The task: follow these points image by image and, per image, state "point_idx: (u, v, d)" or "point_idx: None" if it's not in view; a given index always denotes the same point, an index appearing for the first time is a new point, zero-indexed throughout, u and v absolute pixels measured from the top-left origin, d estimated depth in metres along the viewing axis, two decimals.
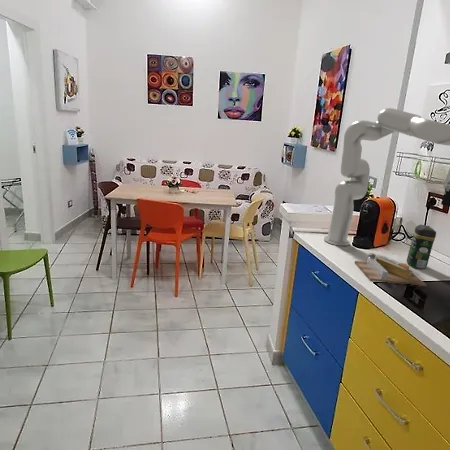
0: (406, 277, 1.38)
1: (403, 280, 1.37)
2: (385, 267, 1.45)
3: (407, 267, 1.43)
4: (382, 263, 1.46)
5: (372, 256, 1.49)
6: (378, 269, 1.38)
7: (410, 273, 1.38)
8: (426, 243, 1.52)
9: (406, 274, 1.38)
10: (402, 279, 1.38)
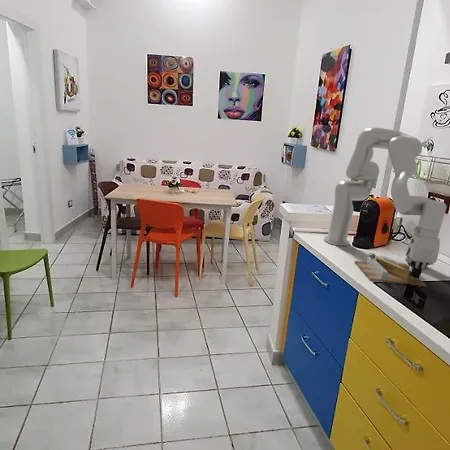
0: (405, 277, 1.38)
1: (403, 280, 1.37)
2: (385, 267, 1.45)
3: (407, 267, 1.43)
4: (382, 263, 1.46)
5: (372, 256, 1.49)
6: (378, 269, 1.38)
7: (409, 273, 1.37)
8: None
9: (405, 274, 1.38)
10: (402, 279, 1.38)
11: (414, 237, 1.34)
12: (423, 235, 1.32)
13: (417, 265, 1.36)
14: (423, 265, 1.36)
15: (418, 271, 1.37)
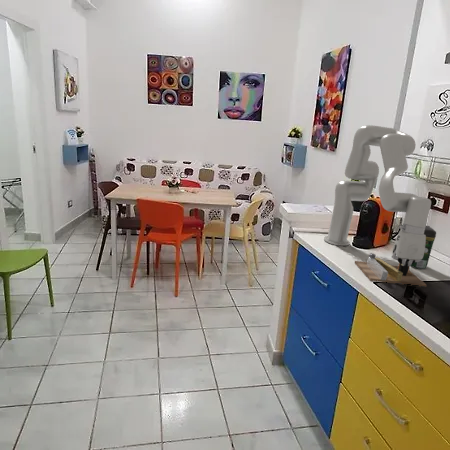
0: (395, 278, 1.36)
1: (403, 280, 1.37)
2: None
3: None
4: (379, 263, 1.46)
5: (372, 256, 1.49)
6: (378, 269, 1.38)
7: (399, 274, 1.35)
8: (426, 243, 1.52)
9: (395, 275, 1.36)
10: (402, 279, 1.38)
11: (400, 234, 1.33)
12: (409, 232, 1.31)
13: (404, 262, 1.35)
14: (410, 262, 1.35)
15: (405, 268, 1.35)
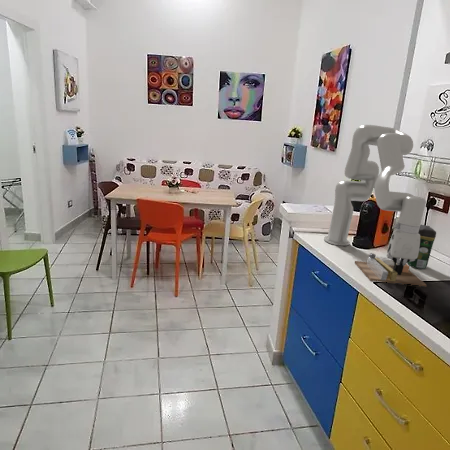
0: (390, 278, 1.35)
1: (403, 280, 1.37)
2: None
3: (407, 267, 1.43)
4: None
5: (372, 256, 1.49)
6: (378, 269, 1.38)
7: (394, 274, 1.34)
8: (426, 243, 1.52)
9: (390, 275, 1.35)
10: (402, 279, 1.38)
11: (394, 233, 1.33)
12: (403, 231, 1.31)
13: (398, 261, 1.35)
14: (404, 261, 1.35)
15: (399, 268, 1.35)
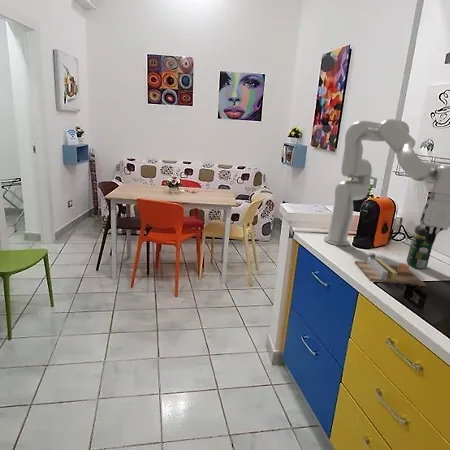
0: (389, 278, 1.35)
1: (403, 280, 1.37)
2: None
3: (407, 267, 1.43)
4: None
5: (372, 256, 1.49)
6: (378, 269, 1.38)
7: (394, 274, 1.34)
8: (426, 243, 1.52)
9: (390, 275, 1.35)
10: (402, 279, 1.38)
11: (428, 202, 1.36)
12: (437, 199, 1.34)
13: (431, 230, 1.38)
14: (437, 230, 1.38)
15: (432, 236, 1.39)
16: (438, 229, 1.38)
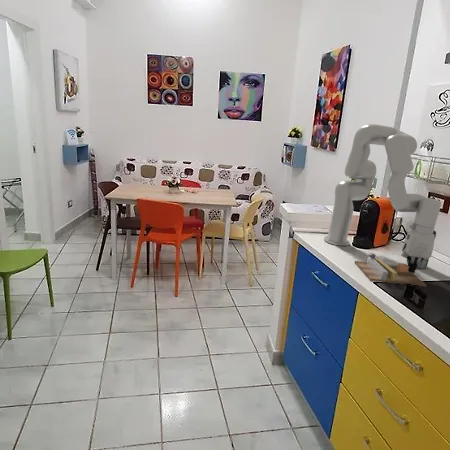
0: (389, 278, 1.35)
1: (403, 280, 1.37)
2: None
3: (407, 267, 1.43)
4: None
5: (372, 256, 1.49)
6: (378, 269, 1.38)
7: (394, 274, 1.34)
8: None
9: (390, 275, 1.35)
10: (402, 279, 1.38)
11: (410, 233, 1.40)
12: (418, 231, 1.37)
13: (412, 260, 1.42)
14: (418, 260, 1.42)
15: (413, 266, 1.43)
16: (419, 259, 1.42)
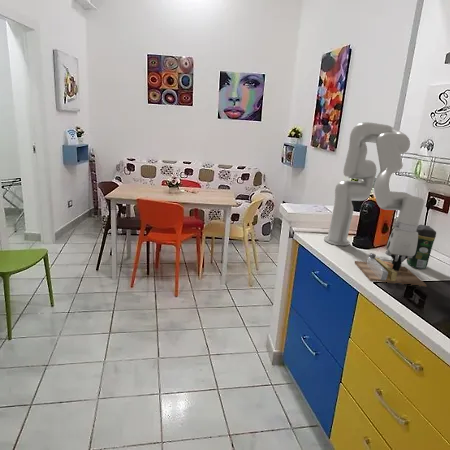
0: (389, 278, 1.35)
1: (403, 280, 1.37)
2: None
3: (391, 265, 1.43)
4: None
5: (372, 256, 1.49)
6: (378, 269, 1.38)
7: (394, 274, 1.34)
8: (426, 243, 1.52)
9: (390, 275, 1.35)
10: (402, 279, 1.38)
11: (394, 231, 1.40)
12: (402, 229, 1.37)
13: (397, 258, 1.42)
14: (402, 258, 1.42)
15: (398, 264, 1.43)
16: (403, 257, 1.42)
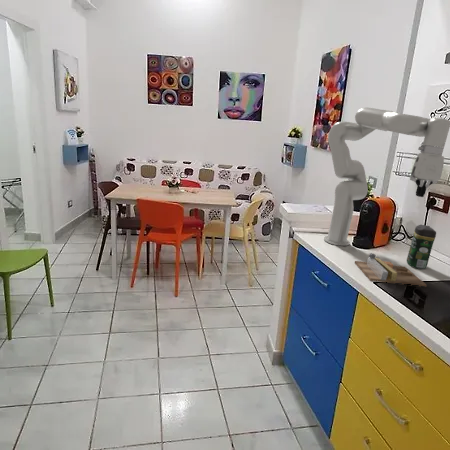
0: (389, 278, 1.35)
1: (403, 280, 1.37)
2: None
3: (391, 265, 1.43)
4: None
5: (372, 256, 1.49)
6: (378, 269, 1.38)
7: (394, 274, 1.34)
8: (426, 243, 1.52)
9: (390, 275, 1.35)
10: (402, 279, 1.38)
11: (419, 155, 1.39)
12: (428, 152, 1.37)
13: (421, 183, 1.41)
14: (427, 183, 1.41)
15: (422, 189, 1.42)
16: (428, 182, 1.41)
